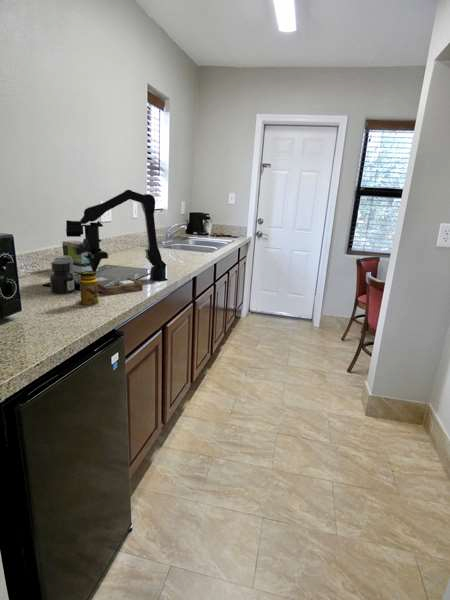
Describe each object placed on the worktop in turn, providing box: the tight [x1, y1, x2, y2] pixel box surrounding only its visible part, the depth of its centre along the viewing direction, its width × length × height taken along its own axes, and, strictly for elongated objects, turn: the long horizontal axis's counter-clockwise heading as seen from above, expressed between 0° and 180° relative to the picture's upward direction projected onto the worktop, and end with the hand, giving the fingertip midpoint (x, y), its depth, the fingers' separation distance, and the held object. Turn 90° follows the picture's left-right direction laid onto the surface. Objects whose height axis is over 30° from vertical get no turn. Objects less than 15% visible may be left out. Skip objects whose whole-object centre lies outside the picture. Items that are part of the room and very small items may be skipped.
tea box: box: [62, 240, 99, 274], centre depth 178 cm, size 15×10×15 cm, turn 58°
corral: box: [98, 277, 143, 296], centre depth 149 cm, size 16×12×3 cm
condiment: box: [73, 271, 101, 308], centre depth 127 cm, size 7×8×12 cm
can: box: [53, 254, 75, 276], centre depth 153 cm, size 8×8×12 cm
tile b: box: [96, 277, 110, 285], centre depth 154 cm, size 5×5×3 cm
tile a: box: [118, 279, 135, 286], centre depth 152 cm, size 5×5×3 cm
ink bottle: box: [49, 260, 76, 295], centre depth 141 cm, size 10×9×12 cm
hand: (94, 271), depth 158 cm, fingers closed
